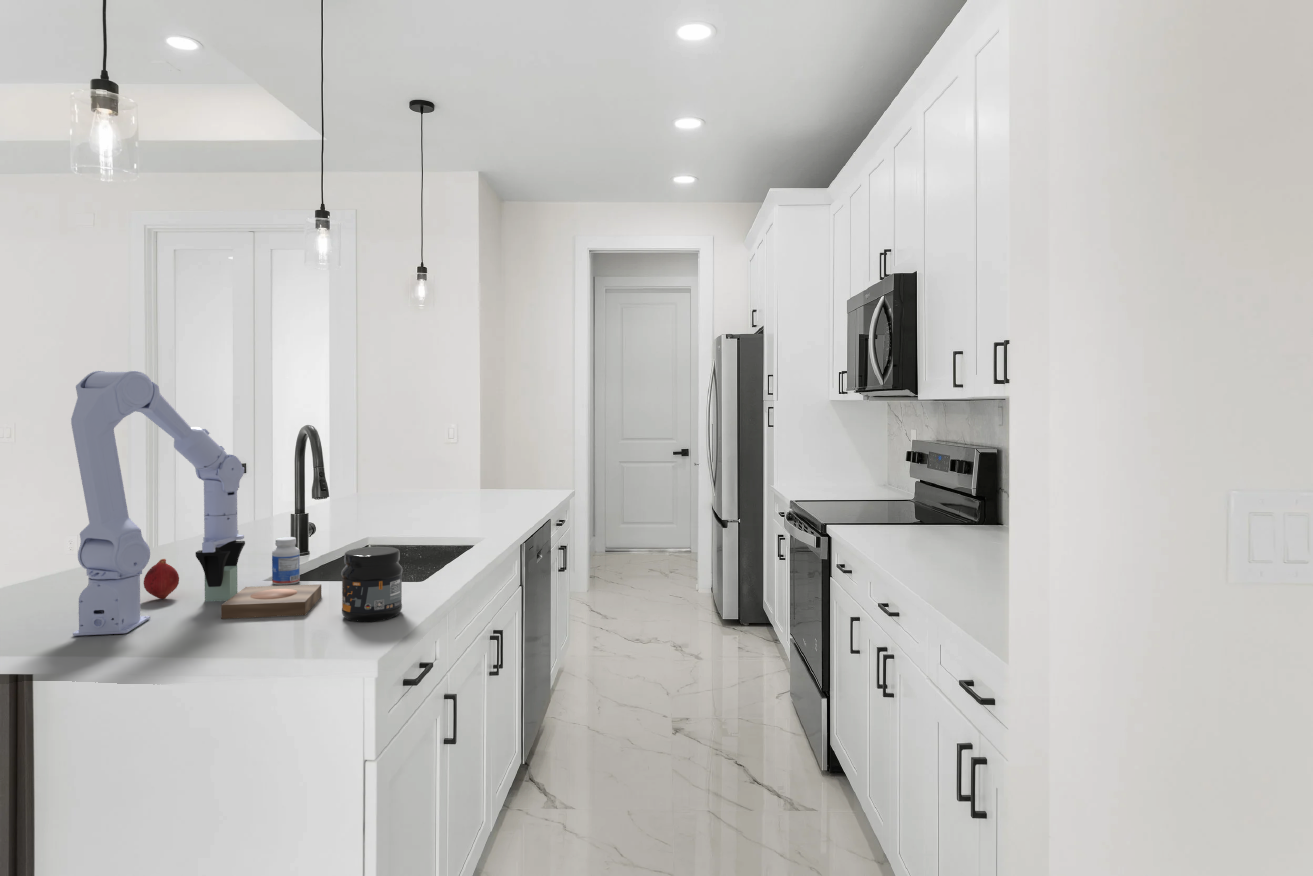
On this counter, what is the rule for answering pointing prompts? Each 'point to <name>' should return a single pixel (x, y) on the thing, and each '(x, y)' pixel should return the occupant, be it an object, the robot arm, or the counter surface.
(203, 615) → the counter surface
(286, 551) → the pill bottle
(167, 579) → the onion
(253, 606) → the walnut base
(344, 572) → the supplement container
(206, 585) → the sage block
